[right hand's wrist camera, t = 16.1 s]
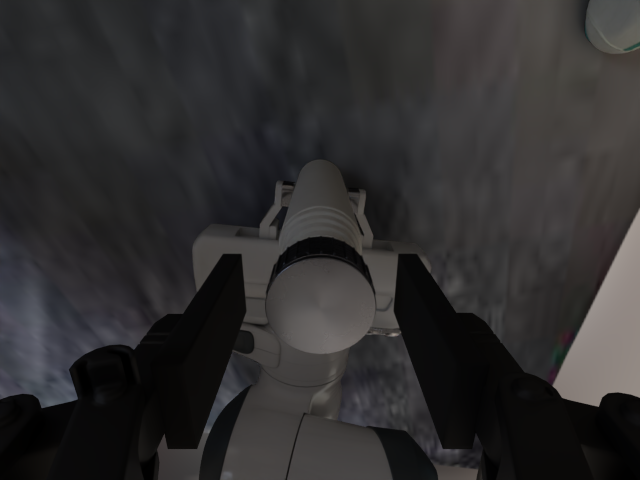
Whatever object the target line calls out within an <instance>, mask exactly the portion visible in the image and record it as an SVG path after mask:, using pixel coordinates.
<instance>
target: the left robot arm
mask: <svg viewBox="0 0 640 480" xmlns="http://www.w3.org/2000/svg"><path fill="white" fill-rule="evenodd" d="M294 189H295V182H288V181H279V180H278V181H277V183H276V189H275V202H274V203H273V204H272V206H271V207H270V209H269V210H268V212H267V213H266V215H265V216H264V218H263V219H262V221H261V223H260V228H254V227H244V226H233V225H223V224H211V225H209V226H208V227H207V228H206V229H204V230H203V231H202V232H201V233H200V234H199V235H198V237H197V238H196V239H195V241H194V243H193V248H192V256H193V270H194V278H195V285H196V290H197V292H198V291H199V289H200V288H201V286H202V285H203V283H204V282H205V280H206V279H207V277H208V276H209V274H210V273H211V271H212V270H213V268H214V267H215V265H216V264H217V262H218V261H219V259H220V257H221V256H222V254H242V263H243V275H244V287H245V298H246V310H247V312H246V314H245V317H244V320H243V323H242V326H241V328H240V331H239V334H238V337H237V339H236V342H235V345H234V348H233V350H232V351H233V352H235V353H238V354H241V355H243V356H245V357H248V358H250V359H252V360H254V361H256V362H258V363H259V365H260V376H259V379H258V382H257V384H255V385H250V386H248V387H247V388H245V389H244V390H243V391H242V392H240V393H239V394H238V395H237V396H236V397H235V398H234V399H233V400H232V401H231V402H230V403H228V404H227V406H226V407H225V408H224V409H223V410H222V412H221V413H220V414H219V416H218V418H217V419H216V421H215V423H214V425H213V427H212V429H211V431H210V433H209V436H208V438H207V441H206V444H205V447H204V451H203V455H202V460H201V466H200V474H199V480H438V475H437V471H436V469H435V467H434V465H433V464H432V462H431V461H430V459H429V458H428V456H427V455H426V454H425V452H424V451H423V450H422V449H421V447H420V446H419V445H418V444H417V443H416V441H415V440H414V439H413V438H412V437H411V436H410V435H409V434H408V433H407V432H406V431H403V430H395V429H387V428H380V427H372V426H367V427H363V426H359V425H354V424H350V423H346V422H341V421H337V419H338V414H339V409H340V404H341V398H342V388H341V383H340V380H341V378H342V376H343V374H344V372H345V370H346V366H347V361H348V355H349V349H350V347H349V348H347V349H344V350H342V351H339V352H335V353H330V354H312V353H306V352H302V351H300V350H297V349H295V348H293V347H291V346H289V345H287V344H286V343H284V342H283V341H282V340H281V339H280V338H279V337H278V336H277V335H276V334H275V333H274V331H273V330H272V328H271V326H270V325H269V323H268V320H267V317H266V312H265V300H266V295H265V293H266V290H267V286H268V283H269V279H270V276H271V272H272V269H273V266H274V264H276V262H277V260H278V258H279V237H280V233H281V230H279V220H278V219H274V218H275V217H276V215H277V214H278V212H279V211H280V209H281V208H282V206H285V207H289V205H290V201H291V198H292V195H293V192H294ZM347 193H348V196H349V200H350V203H351V206H352V209H353V212H354V213H355V214H356V217H357V219H358V222H359V224H360V226H361V228H360V227H359V231H360V234H361V238H362V256H363V259H364V262H365V264H367V265H368V268H369V271H370V274H371V278H372V281H373V286H374V289H375V292H376V295H375V297H376V314H375V318H374V321H373V323H372V325H371V327H370V329H369V330H368V332H367V333H366V334H365V335H374V334H375V335H384V336H387V337H397V336H399V333H401V331H400V329H399V326H398V323H397V320H396V317H395V314H394V312H393V310H394V298H395V287H396V275H397V263H398V254H418V256H419V257H420V259H421V261H422V262H423V264H424V265H425V267H426V268H427V270H428V271H429V273H431V263H430V261H429V259H428V257H427V255H426V254H425V252H424V251H423V250H422V249H421V248H420V246H419V245H417V244H415V243H407V242H397V241H387V240H376V239H373V234H372V231H371V229H370V226H369V224H368V221H367V219H366V217H365V214H364V206H365V200H366V191H365V190H364V189H357V188H347Z"/></svg>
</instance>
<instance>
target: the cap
mask: <svg viewBox="0 0 640 480" xmlns="http://www.w3.org/2000/svg"><path fill="white" fill-rule="evenodd" d="M265 295H266V300H265V312H266V317H267V320H268V323H269V325H270V326H271V328H272V330H273V331H274V333H275V334H276V335H277V336H278V337H279V338H280V339H281V340H282V341H283V342H284V343H286V344H287V345H289V346H291V347H293V348H295V349H297V350H300V351H302V352H306V353H312V354H330V353H335V352H339V351H342V350H344V349H347V348H349V347H351V346H352V345H354V344H355V343H357V342H358V341H359V340H361V339H362V338H363V337H364V336H365V334H366V333H367V332H368V330H369V329H370V327H371V325H372V323H373V321H374V318H375V314H376V297H375V295H376V292H375V289H374V286H373V281H372V278H371V274H370V271H369V268H368V265H367V264H365V262H364V259H363V256H362V255H361V256H360V254H359V253H358V252H357V251H356V250H355V248H354V247H351V246H350V245H348V244H347V243H345V241H340V240H338V239H334V237H332V238H330V237H322V236H320V237H311V238H310V237H308V238H307V239H303V240H301V241H297V242H296V243H294V244H293V245H291V246H290V247H287V249H286V250H285V251H284V252H283V253H282V255H281V254H280V255H279V258H278V260H277V262H276V264H274V266H273V269H272V272H271V276H270V279H269V283H268V286H267V290H266V293H265Z"/></svg>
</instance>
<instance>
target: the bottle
mask: <svg viewBox="0 0 640 480" xmlns="http://www.w3.org/2000/svg"><path fill="white" fill-rule="evenodd" d="M320 236H322V237H330V238H332V237H334V239H338V240H340V241H345V243H347V244H348V245H350V246H351V247H354V248H355V250H356V251H357V252H358V253H359V254H360V256H361V255H362V238H361V234H360V231H359V227H358V224H357V221H356V218H355V215H354V212H353V209H352V206H351V203H350V200H349V196H348V193H347V190H346V187H345V184H344V181H343V178H342V175H341V172H340V170H339V169H338V168H337V167H336V165H334V164H333V163H331V162H329V161H327V160H320V159H319V160H313V161H311V162H309V163H307V164H306V165H305V166H304V167H303V168H302V169H301V171H300V173H299V176H298V179H297V182H296V185H295V189H294V192H293V195H292V198H291V201H290V205H289V208H288V211H287V214H286V217H285V220H284V224H283V227H282V230H281V233H280V237H279V255H280V254H281V255H282V253H283V252H284V251H285V250H286V249H287V247H290V246H291V245H293V244H294V243H296V242H297V241H301V240H303V239H307V238H308V237H310V238H311V237H320Z"/></svg>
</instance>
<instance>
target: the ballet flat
mask: <svg viewBox="0 0 640 480" xmlns="http://www.w3.org/2000/svg"><path fill="white" fill-rule="evenodd" d="M585 34H586V37H587V39H588V40H589V41H590V42H591V43H592V45H593V46H595V47H596V48H597V49H598V50H600V51H602V52H605V53H610V54H620V53H627V52H630V51H633V50H636V49H639V48H640V0H590V1H589V4H588V8H587V10H586V20H585Z"/></svg>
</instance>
